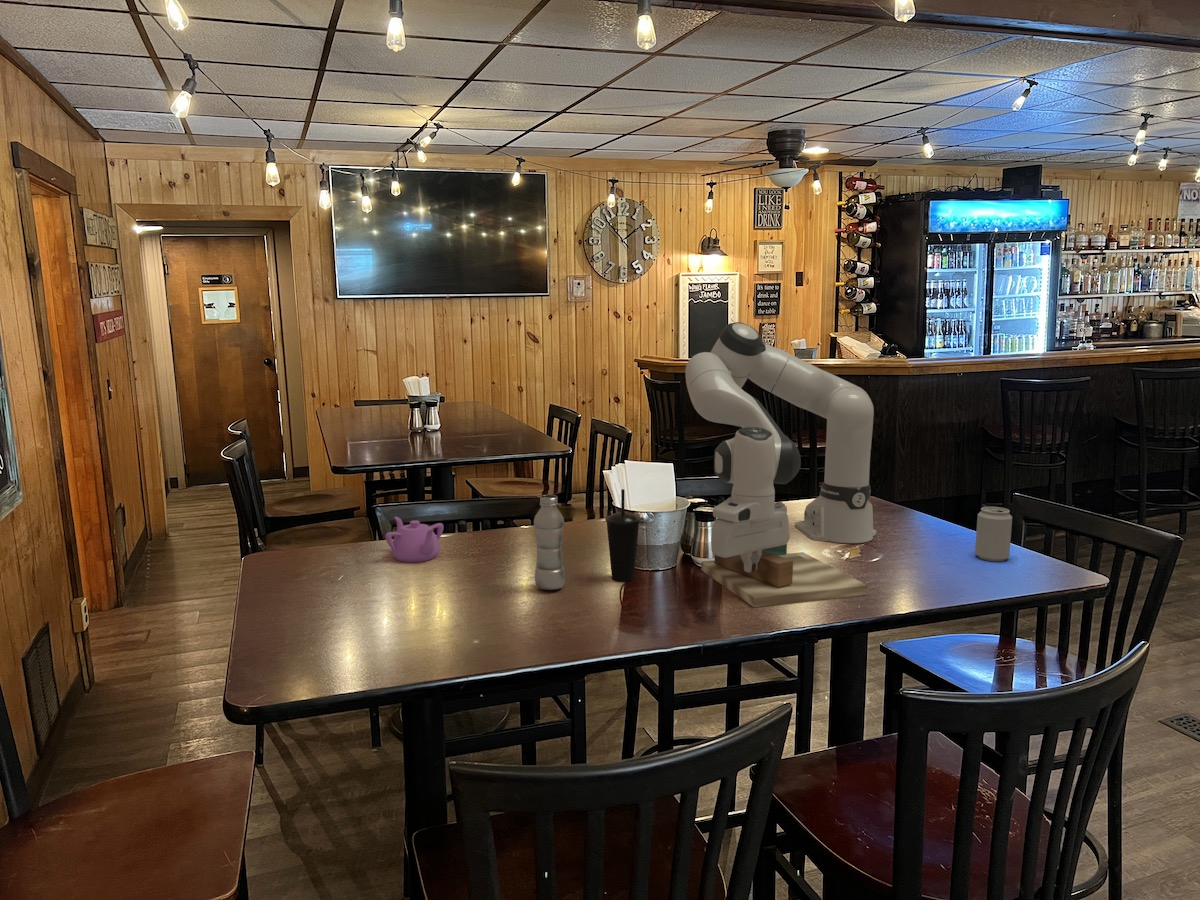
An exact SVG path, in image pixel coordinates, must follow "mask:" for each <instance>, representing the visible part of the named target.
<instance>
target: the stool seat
mask: <svg viewBox="0 0 1200 900" xmlns="http://www.w3.org/2000/svg"><path fill="white" fill-rule="evenodd" d="M762 551H765V552H768V553H771V554H775V555H778V556H781V557H784V558H787V559H790V560H793V577H792V584H790V585H786V586H781V587H776V586H773V585H771V584H768V583H765V582H763V581H760V580H757V579H755V578H752V577H749V576H747V575H744V574H741V573H739V572H736V571H733V570H731V569H728V568H725V567H723V566H720V565H717V564H714V561H715V559H714V560H708V561H707V560H706V561H705V560H704V561H701V565H700V566H701V569H700V571H702V572H703V573H705V574H706V575H707V576H709V577H710V578H711V579H713V580H714V581H716V582H717V583H719V584H720V585H722V586H723V587H724V588H726V589H727V590H728V591H731V592H732V593H733V594H734V595H736V596H737V597H738V598H740V599H741V600H743V601H744V602H745V603H747V604H749V605H750V606H751V607H753V608H760V607H769V606H780V605H788V604H796V603H797V604H798V603H805V602H815V601H824V600H832V599H841V598H842V599H843V598H852V597H859V596H860V597H861V596H868V587H869V586H868V585H867V584H865V583H864V582H862V581H860V580H858V579H856V578H854V577H852V576H850V575H848V574H847V573H844V572H842V571H841V570H839V569H837V568H834V567H833V566H831V565H829V564H828V563H825V562H823V561H821V560H819V559H817V558H815V557H813V556H812V555H810V554H807V553H805V552H804V551H802V552H800V551H799V552H792V553H787V551H788V543H787V544H786V545H781V546H777V547H772V548H768V549H763V550H762Z"/></svg>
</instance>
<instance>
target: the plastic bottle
mask: <svg viewBox="0 0 1200 900" xmlns="http://www.w3.org/2000/svg"><path fill="white" fill-rule="evenodd" d="M539 500H540V501H539V506H540V508H539V510H538V511H537V513H535V516H534V519H533V525H534V526H533V527H534V532H535V539H536V540H535V541H536V542H535V543H536V563H535V564H536V565H535V570H534V581H535V582H534V583H535V585H536V587H537V588H538V589H540V590H543V591H544V590H545V591H554V590H555V591H556V590H559V589H561V588H562V587H563V586H564V585H565V580H566V573H565V567H564V562H563V561H564V560H563V551H562V550H563V534H564V525H565V520H564V519H565V518H564V516H563V514H562V513H561V512H560V510H559V509H558V506H559V502H558V496H557V495H555V494H543V495H540V497H539Z"/></svg>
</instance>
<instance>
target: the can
mask: <svg viewBox="0 0 1200 900" xmlns="http://www.w3.org/2000/svg"><path fill="white" fill-rule="evenodd" d="M980 510H981V511H979V513H977V518H976V519H977V520H976V530H975V531H976V533H975V546H974V547H975V549H974V554H975V555H976V556H977V557H978V558H979V559H981V560H984V561H988V562H1004V561H1005V560H1007V559H1008V558H1010V550H1011V540H1012V539H1011V537H1012V525H1013V516H1012V515H1011V514H1010V512H1011V511H1010V509H1008V508H1005V507H998V506H982V507H981V508H980Z"/></svg>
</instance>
